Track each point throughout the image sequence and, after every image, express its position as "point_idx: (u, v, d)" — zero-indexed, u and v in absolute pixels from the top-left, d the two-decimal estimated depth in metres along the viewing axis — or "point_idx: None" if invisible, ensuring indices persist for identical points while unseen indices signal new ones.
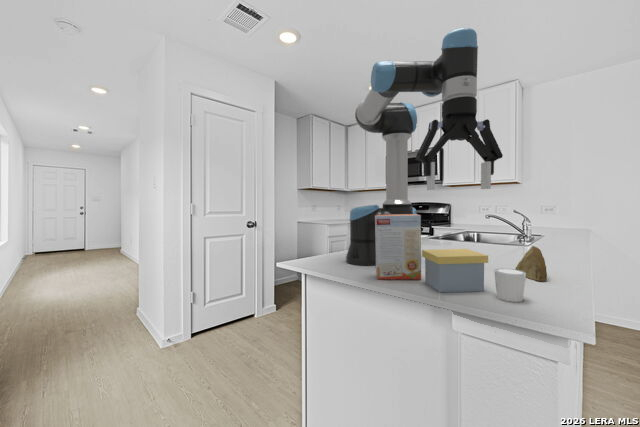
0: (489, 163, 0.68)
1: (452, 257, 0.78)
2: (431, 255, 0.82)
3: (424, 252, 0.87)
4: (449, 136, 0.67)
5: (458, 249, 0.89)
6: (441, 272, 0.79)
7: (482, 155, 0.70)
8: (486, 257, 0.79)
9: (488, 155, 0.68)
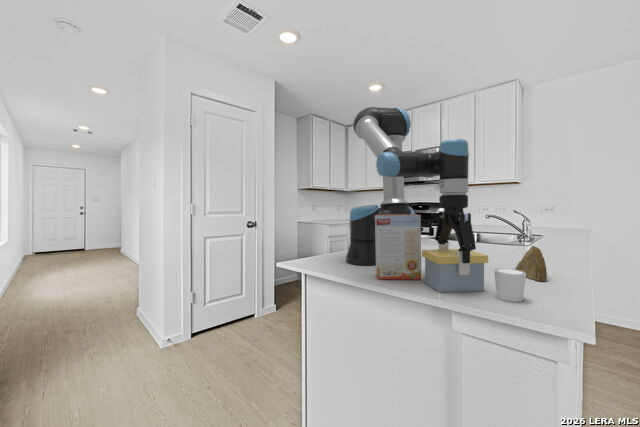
0: (459, 252, 0.78)
1: (452, 257, 0.78)
2: (431, 255, 0.82)
3: (424, 252, 0.87)
4: (443, 224, 0.86)
5: (458, 249, 0.89)
6: (441, 272, 0.79)
7: None
8: (486, 257, 0.79)
9: (459, 245, 0.78)
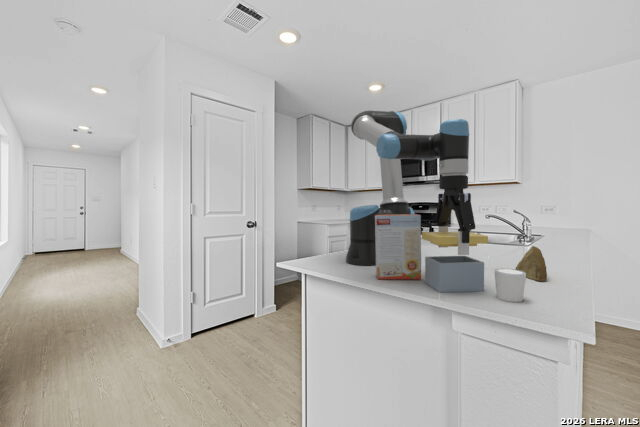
0: (458, 232, 0.78)
1: (452, 237, 0.78)
2: (431, 236, 0.82)
3: (424, 234, 0.87)
4: (442, 206, 0.86)
5: None
6: (441, 272, 0.79)
7: None
8: (486, 237, 0.78)
9: (459, 225, 0.78)
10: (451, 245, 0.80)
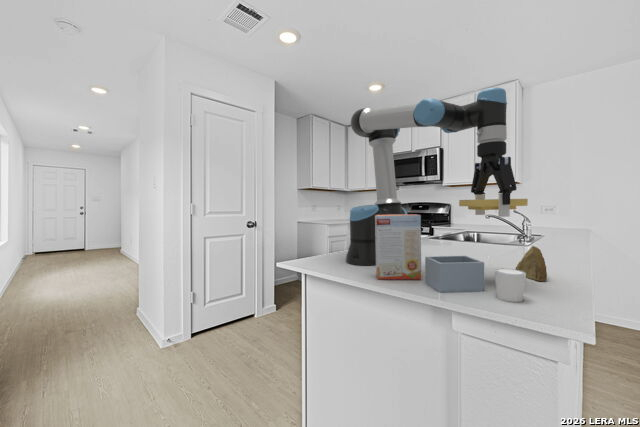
0: (499, 195, 0.81)
1: (492, 200, 0.81)
2: (470, 201, 0.85)
3: (462, 201, 0.90)
4: (480, 174, 0.89)
5: None
6: (441, 272, 0.79)
7: None
8: (525, 200, 0.81)
9: (499, 188, 0.81)
10: (491, 208, 0.83)
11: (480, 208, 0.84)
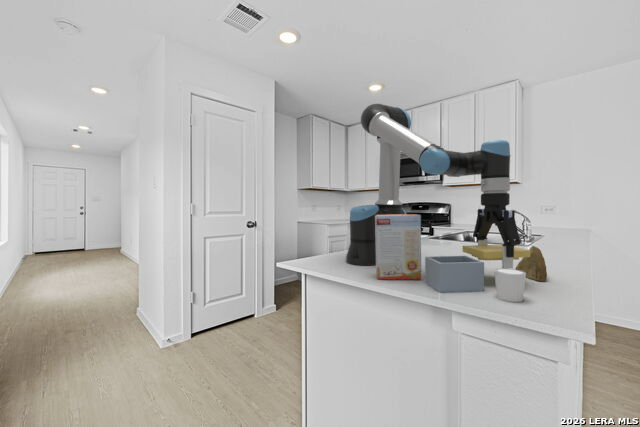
0: (503, 247, 0.82)
1: (496, 252, 0.83)
2: (474, 250, 0.87)
3: (465, 248, 0.92)
4: (483, 221, 0.91)
5: (497, 245, 0.93)
6: (441, 272, 0.79)
7: None
8: (528, 252, 0.83)
9: (503, 240, 0.82)
10: (495, 259, 0.85)
11: (484, 258, 0.85)
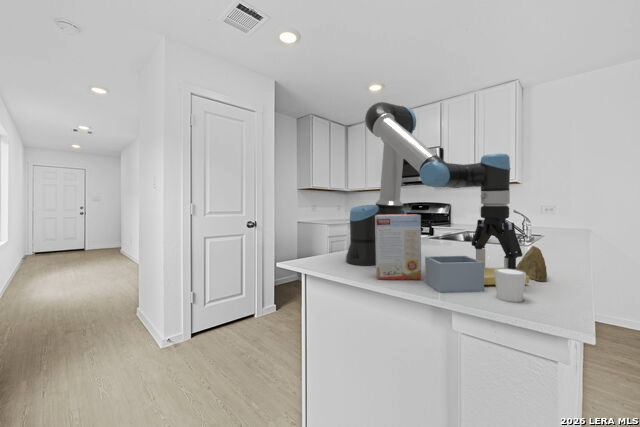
0: (505, 259, 0.82)
1: None
2: None
3: None
4: (482, 233, 0.91)
5: (496, 268, 0.94)
6: (441, 272, 0.79)
7: None
8: (527, 278, 0.84)
9: (505, 252, 0.82)
10: (494, 284, 0.85)
11: None
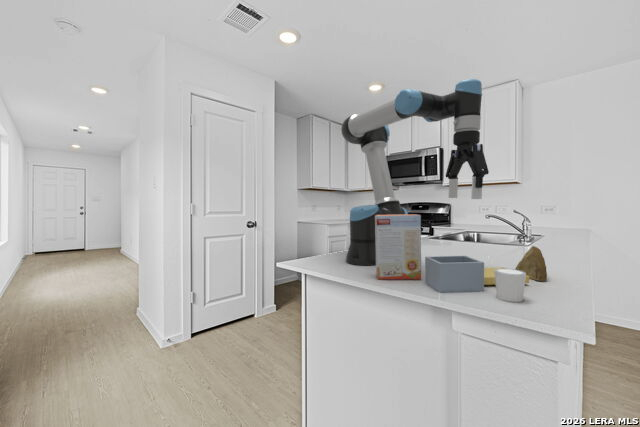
0: (472, 178, 0.86)
1: None
2: None
3: None
4: (455, 160, 0.95)
5: (496, 268, 0.94)
6: (441, 272, 0.79)
7: None
8: (527, 278, 0.84)
9: (473, 172, 0.86)
10: (494, 284, 0.85)
11: None
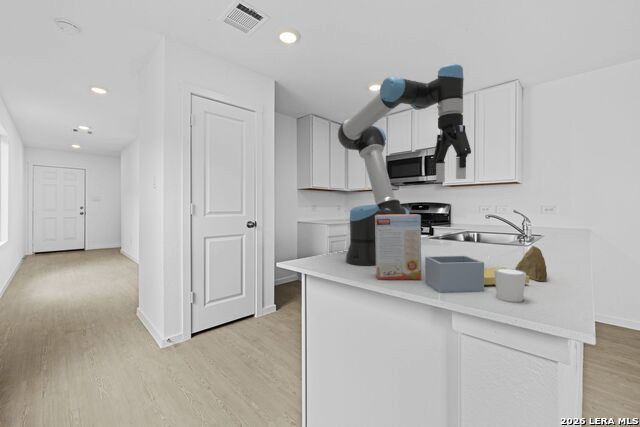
0: (456, 159, 0.88)
1: None
2: None
3: None
4: (440, 144, 0.97)
5: (496, 268, 0.94)
6: (441, 272, 0.79)
7: None
8: (527, 278, 0.83)
9: (457, 153, 0.88)
10: (494, 284, 0.85)
11: None
